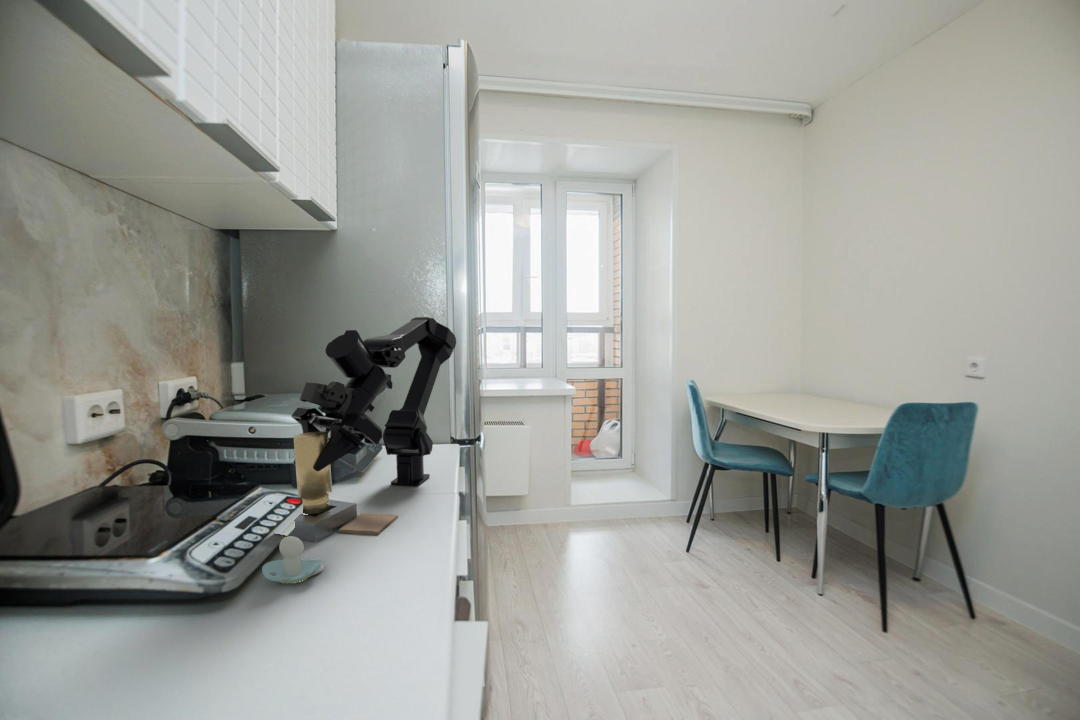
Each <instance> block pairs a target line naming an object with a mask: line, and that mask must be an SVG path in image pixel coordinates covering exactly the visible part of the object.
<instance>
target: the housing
mask: <svg viewBox="0 0 1080 720" xmlns="http://www.w3.org/2000/svg"><path fill="white" fill-rule="evenodd" d="M357 510H358V509H357V503H355V502H349V501H342V500H336V499H330V498H329V509H328V510H326V511H323V512H320V513H316V514H308V515H303V514H300V515H299V516H298V517H297V518H296V519H295V520H294V521H295V528H294V530H293V531H292V533H291V535H290V536H294V537H297V538H299V539H300V540H301V541H302V540H303V541H308V542H312V543H317V542H319V541H321V540H322V539H325V538H326V537H328V536H330V535H332V534H333V533H336V532H339V529H340V528H341V527H343V526H344V525H345V524H347V523H348V522H349V521H351V520H353V519H355V518H357V516H358V514H357V513H358V512H357Z"/></svg>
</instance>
